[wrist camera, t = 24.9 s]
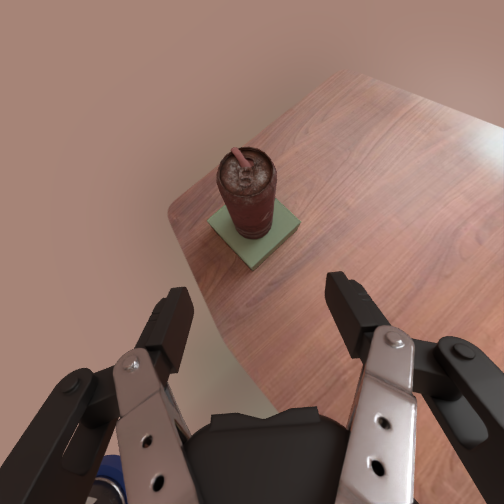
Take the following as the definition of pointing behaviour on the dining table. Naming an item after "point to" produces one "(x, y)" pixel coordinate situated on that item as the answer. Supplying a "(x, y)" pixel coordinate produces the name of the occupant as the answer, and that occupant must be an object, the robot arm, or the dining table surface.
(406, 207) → the dining table surface
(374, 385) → the robot arm
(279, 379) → the dining table surface
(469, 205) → the dining table surface
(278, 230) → the plate
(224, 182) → the can
